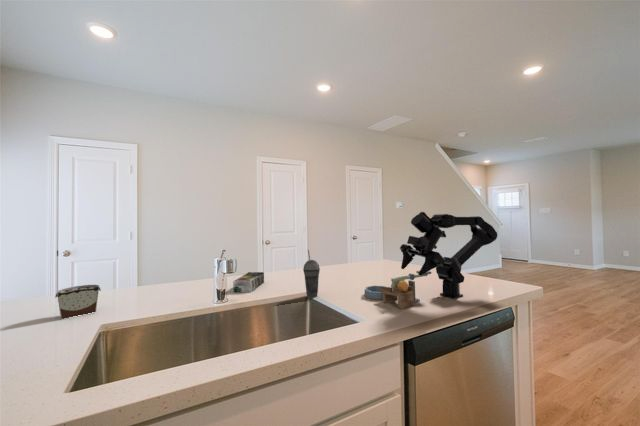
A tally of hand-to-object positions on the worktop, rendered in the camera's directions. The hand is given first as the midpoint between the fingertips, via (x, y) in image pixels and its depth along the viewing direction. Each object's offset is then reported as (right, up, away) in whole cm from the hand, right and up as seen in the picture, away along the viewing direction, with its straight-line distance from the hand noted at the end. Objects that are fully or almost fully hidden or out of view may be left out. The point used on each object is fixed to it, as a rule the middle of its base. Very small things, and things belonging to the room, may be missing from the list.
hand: (410, 271), depth 103 cm
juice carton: (-71, -15, +28) cm, 78 cm away
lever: (0, -6, 0) cm, 6 cm away
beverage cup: (-39, -13, +10) cm, 42 cm away
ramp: (-6, -12, -2) cm, 13 cm away
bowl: (-11, -12, +8) cm, 18 cm away
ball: (-4, -4, -5) cm, 8 cm away
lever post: (+1, -12, 0) cm, 12 cm away
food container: (-125, -15, -5) cm, 126 cm away
